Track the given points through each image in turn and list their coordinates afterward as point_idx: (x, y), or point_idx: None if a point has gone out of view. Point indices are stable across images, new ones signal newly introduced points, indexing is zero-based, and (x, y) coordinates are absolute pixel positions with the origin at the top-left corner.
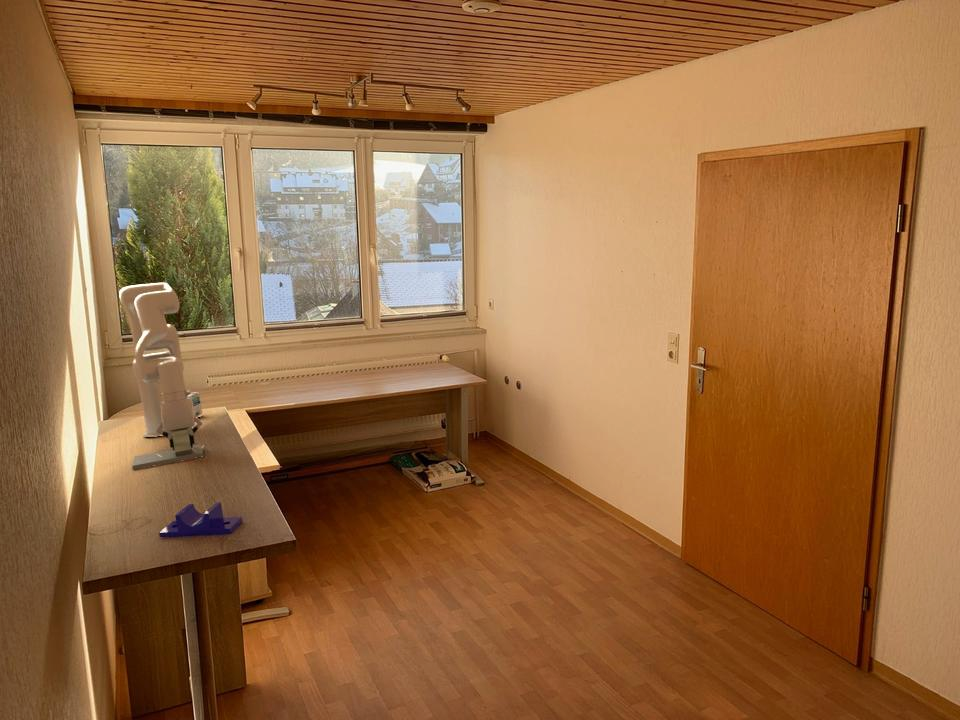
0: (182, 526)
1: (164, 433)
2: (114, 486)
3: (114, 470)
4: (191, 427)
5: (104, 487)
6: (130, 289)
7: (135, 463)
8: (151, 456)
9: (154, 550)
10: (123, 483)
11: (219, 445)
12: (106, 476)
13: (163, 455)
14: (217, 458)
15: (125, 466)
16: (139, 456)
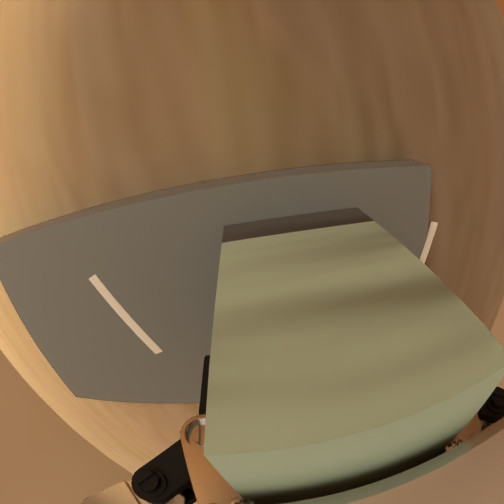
0: None
1: (177, 502)
2: (125, 457)
3: (12, 342)
4: (470, 427)
5: (102, 450)
6: None
7: (70, 380)
8: (81, 311)
9: None
10: (137, 454)
11: (482, 159)
12: (35, 387)
13: (159, 332)
14: None
15: (16, 315)
16: (10, 268)
